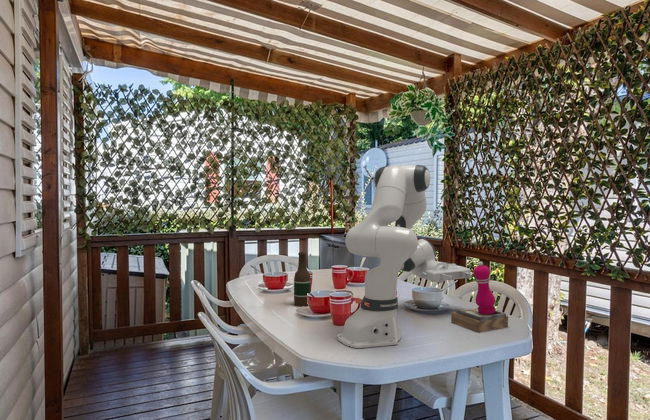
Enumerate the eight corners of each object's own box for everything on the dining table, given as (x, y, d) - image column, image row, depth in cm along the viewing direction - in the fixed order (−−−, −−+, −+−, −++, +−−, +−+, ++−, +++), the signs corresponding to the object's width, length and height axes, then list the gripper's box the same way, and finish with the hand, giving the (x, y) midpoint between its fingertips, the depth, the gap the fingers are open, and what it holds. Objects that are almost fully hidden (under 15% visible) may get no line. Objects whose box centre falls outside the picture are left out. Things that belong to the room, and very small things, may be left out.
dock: (478, 332, 159) (478, 318, 159) (451, 322, 172) (451, 309, 172) (507, 326, 166) (508, 313, 166) (479, 317, 179) (480, 305, 178)
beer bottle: (304, 307, 195) (304, 253, 194) (290, 305, 199) (290, 252, 198) (314, 304, 201) (314, 251, 201) (300, 301, 206) (300, 250, 205)
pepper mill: (498, 314, 165) (491, 263, 163) (478, 316, 167) (471, 265, 165) (494, 307, 172) (488, 258, 170) (475, 309, 174) (469, 260, 172)
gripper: (419, 266, 185) (441, 271, 173) (456, 262, 194) (480, 267, 181) (419, 281, 185) (441, 287, 173) (456, 277, 194) (480, 282, 182)
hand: (461, 277), depth 177 cm, fingers open, 8 cm apart
